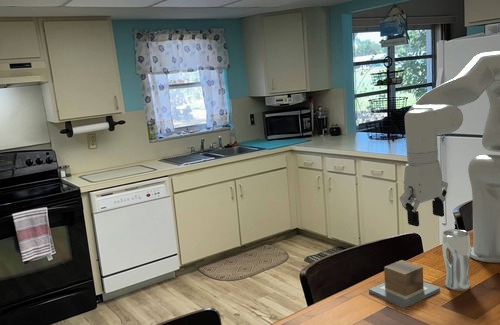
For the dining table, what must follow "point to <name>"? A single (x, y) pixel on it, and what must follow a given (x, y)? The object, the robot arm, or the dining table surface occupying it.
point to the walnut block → (403, 277)
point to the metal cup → (456, 258)
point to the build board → (401, 299)
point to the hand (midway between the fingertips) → (426, 220)
